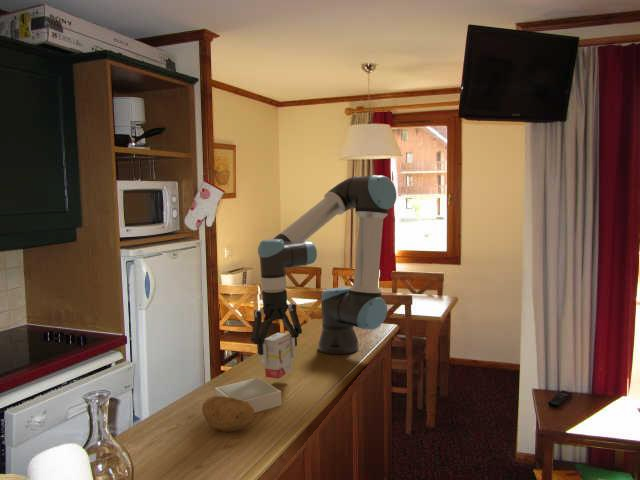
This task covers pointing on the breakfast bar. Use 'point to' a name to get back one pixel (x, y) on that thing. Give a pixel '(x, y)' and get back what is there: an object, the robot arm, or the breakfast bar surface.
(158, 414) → the breakfast bar surface
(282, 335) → the ink box
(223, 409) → the potato
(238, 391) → the block
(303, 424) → the breakfast bar surface
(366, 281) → the robot arm
